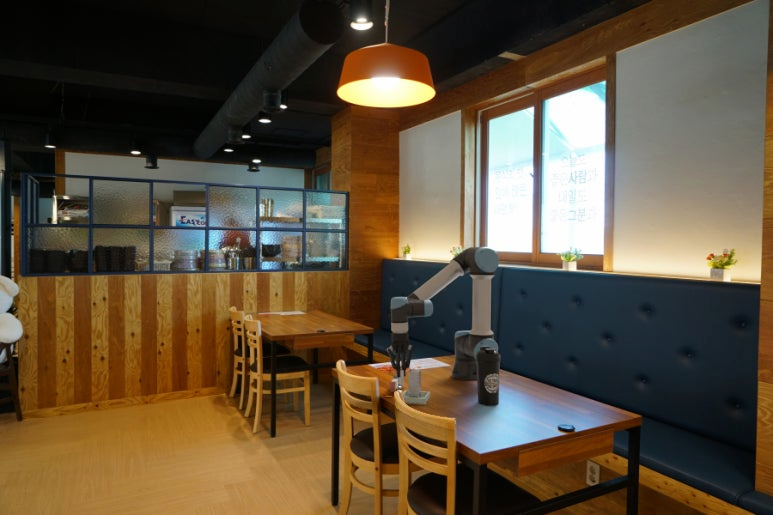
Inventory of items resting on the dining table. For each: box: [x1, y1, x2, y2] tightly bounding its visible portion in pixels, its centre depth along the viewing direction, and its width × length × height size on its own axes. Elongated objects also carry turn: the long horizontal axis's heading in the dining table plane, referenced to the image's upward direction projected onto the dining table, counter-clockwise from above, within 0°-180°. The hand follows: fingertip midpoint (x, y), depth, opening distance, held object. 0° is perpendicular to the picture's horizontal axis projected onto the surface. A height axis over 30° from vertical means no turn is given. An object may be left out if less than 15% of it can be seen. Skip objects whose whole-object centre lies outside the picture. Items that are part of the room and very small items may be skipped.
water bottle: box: [476, 346, 501, 407], centre depth 214 cm, size 10×10×23 cm
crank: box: [388, 373, 400, 393], centre depth 233 cm, size 13×3×5 cm, turn 168°
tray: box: [402, 389, 431, 406], centre depth 218 cm, size 11×11×2 cm
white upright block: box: [407, 368, 422, 398], centre depth 218 cm, size 4×4×12 cm
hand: (401, 384), depth 231 cm, fingers closed
